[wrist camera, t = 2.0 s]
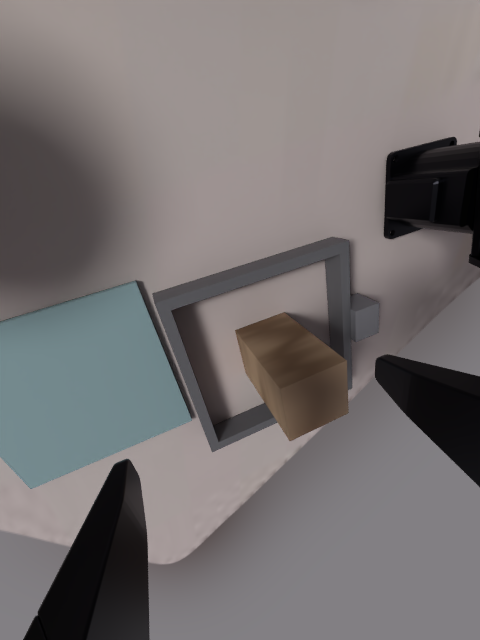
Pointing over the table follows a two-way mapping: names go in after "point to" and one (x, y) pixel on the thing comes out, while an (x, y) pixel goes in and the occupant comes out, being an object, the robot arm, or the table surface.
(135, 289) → the rubber mat
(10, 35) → the table surface
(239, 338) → the walnut plug block
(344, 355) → the gray rectangular frame
